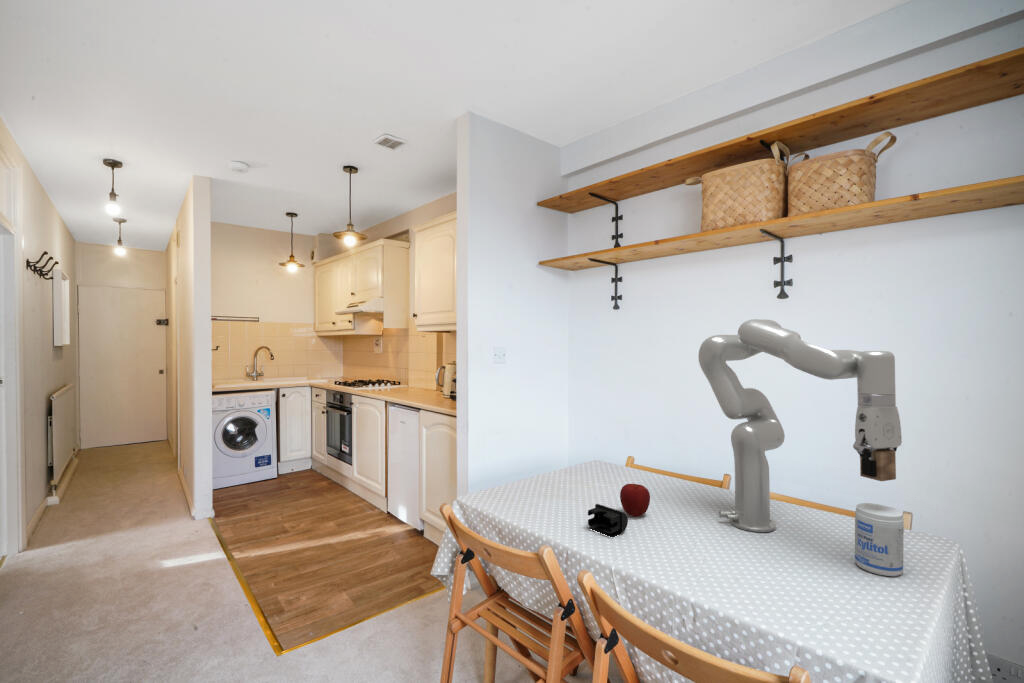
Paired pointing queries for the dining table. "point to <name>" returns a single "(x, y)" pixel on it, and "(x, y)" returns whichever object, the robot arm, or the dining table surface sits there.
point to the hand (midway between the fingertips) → (877, 473)
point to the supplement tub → (879, 539)
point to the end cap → (607, 520)
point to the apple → (634, 499)
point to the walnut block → (883, 465)
